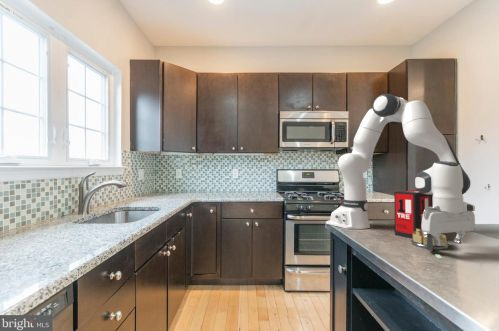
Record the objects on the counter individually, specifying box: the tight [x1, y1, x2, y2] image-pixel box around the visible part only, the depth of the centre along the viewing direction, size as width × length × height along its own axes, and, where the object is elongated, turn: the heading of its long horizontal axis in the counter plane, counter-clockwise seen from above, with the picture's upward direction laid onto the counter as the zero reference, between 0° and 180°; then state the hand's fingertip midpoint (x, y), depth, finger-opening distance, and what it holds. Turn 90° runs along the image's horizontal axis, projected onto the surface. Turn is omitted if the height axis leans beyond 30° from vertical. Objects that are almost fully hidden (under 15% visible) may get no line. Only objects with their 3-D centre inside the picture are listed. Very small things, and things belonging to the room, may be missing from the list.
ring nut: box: [413, 228, 447, 252], centre depth 98 cm, size 18×11×5 cm, turn 146°
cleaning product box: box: [393, 189, 433, 240], centre depth 118 cm, size 16×9×20 cm, turn 121°
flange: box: [410, 230, 449, 251], centre depth 101 cm, size 12×12×6 cm
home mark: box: [435, 254, 443, 260], centre depth 87 cm, size 4×1×1 cm, turn 155°
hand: (448, 244), depth 91 cm, fingers open, 8 cm apart
